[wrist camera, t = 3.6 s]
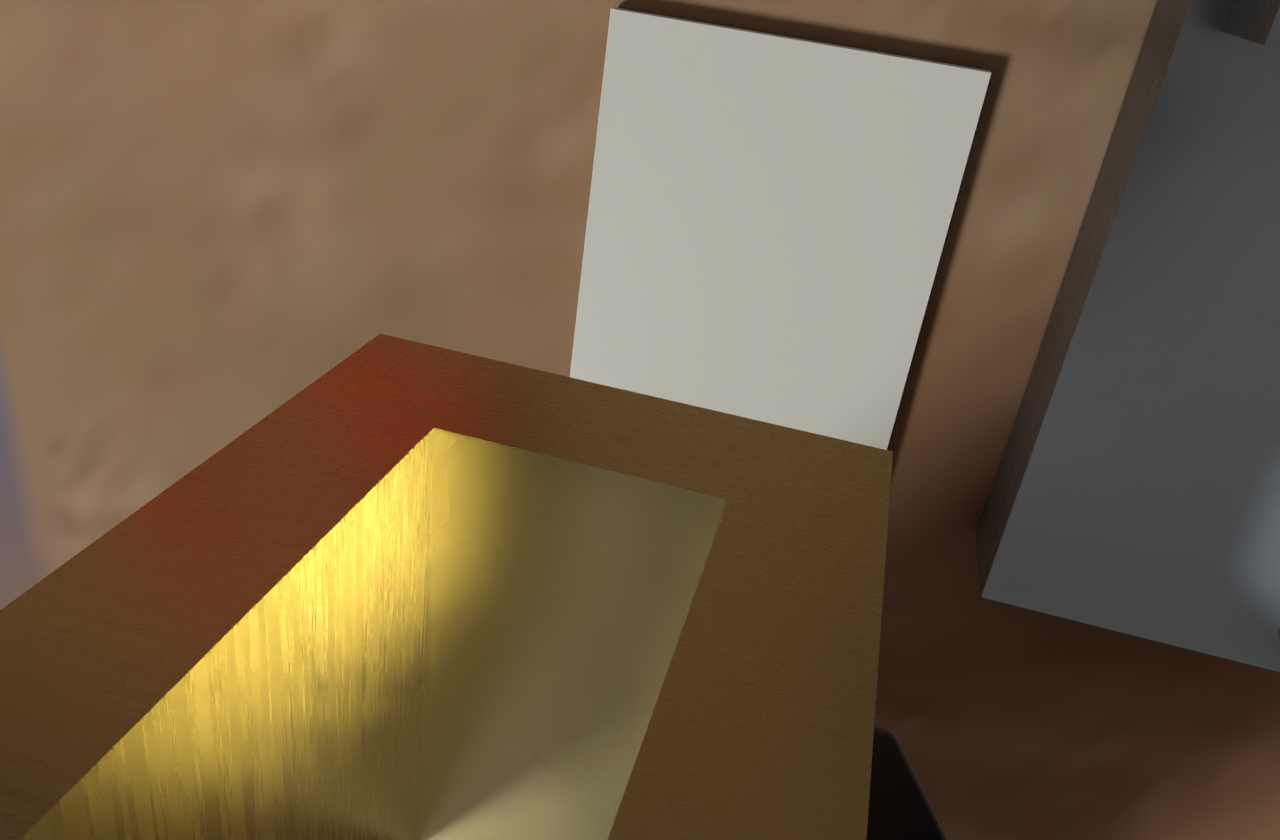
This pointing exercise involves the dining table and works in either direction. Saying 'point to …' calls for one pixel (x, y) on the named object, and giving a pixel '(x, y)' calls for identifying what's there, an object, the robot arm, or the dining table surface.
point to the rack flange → (1163, 364)
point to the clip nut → (463, 626)
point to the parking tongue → (767, 221)
